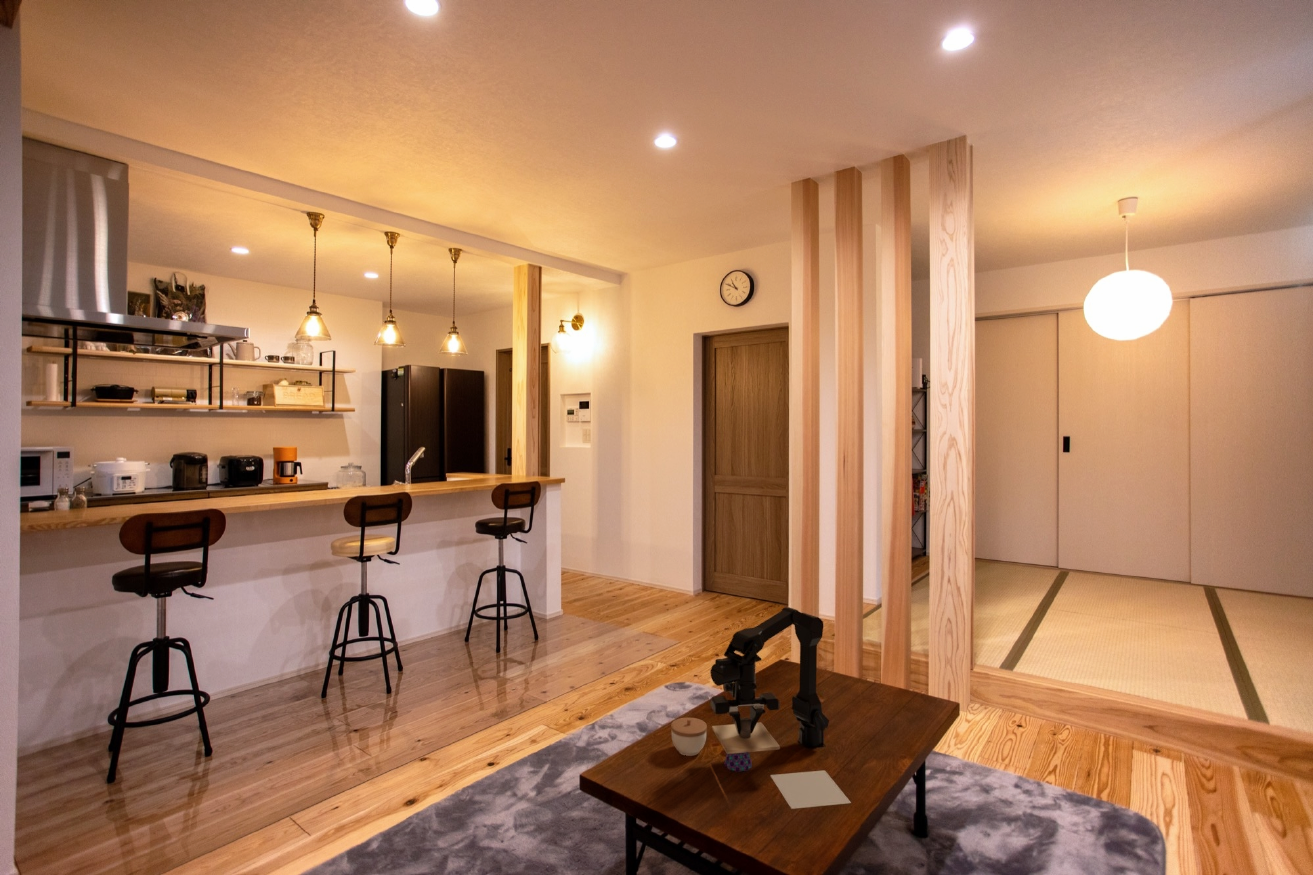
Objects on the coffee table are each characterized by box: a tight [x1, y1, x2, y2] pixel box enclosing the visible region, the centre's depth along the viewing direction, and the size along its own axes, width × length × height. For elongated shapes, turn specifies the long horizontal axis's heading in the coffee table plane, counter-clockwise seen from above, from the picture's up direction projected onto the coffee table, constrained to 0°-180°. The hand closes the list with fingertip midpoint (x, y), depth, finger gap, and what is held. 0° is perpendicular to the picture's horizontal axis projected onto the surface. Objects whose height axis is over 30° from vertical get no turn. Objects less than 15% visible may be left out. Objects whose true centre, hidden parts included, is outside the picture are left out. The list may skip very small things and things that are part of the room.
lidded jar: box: [670, 717, 708, 757], centre depth 191 cm, size 11×11×9 cm
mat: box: [770, 770, 852, 810], centre depth 169 cm, size 16×16×1 cm
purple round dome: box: [724, 752, 753, 773], centre depth 182 cm, size 12×12×5 cm
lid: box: [711, 717, 781, 755], centre depth 180 cm, size 15×15×5 cm
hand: (744, 733), depth 180 cm, fingers closed on lid, 3 cm apart
